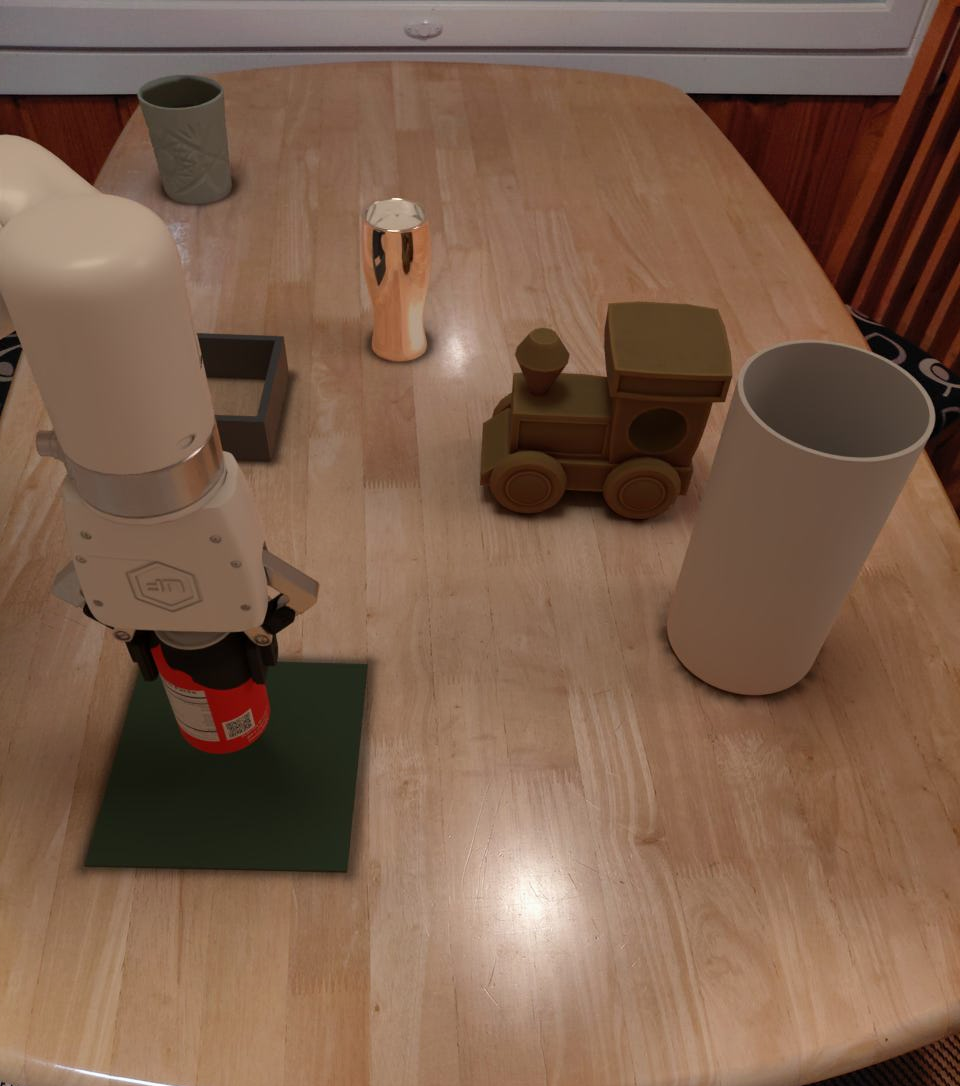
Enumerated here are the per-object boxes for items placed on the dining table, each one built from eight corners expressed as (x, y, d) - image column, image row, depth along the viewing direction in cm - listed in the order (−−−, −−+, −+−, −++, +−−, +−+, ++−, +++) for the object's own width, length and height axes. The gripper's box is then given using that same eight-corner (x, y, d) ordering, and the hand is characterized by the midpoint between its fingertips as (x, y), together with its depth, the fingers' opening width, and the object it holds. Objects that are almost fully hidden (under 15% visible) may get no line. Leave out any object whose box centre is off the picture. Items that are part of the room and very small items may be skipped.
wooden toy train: (680, 448, 97) (719, 299, 84) (693, 529, 90) (737, 380, 77) (481, 438, 96) (489, 287, 83) (478, 518, 89) (486, 367, 76)
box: (129, 458, 93) (115, 416, 89) (159, 372, 101) (148, 330, 97) (271, 463, 93) (264, 421, 89) (289, 377, 101) (283, 335, 98)
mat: (85, 867, 66) (84, 865, 66) (144, 660, 78) (143, 657, 77) (347, 873, 67) (346, 871, 67) (367, 666, 78) (367, 663, 78)
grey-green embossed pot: (160, 210, 122) (137, 110, 112) (157, 172, 128) (136, 75, 118) (241, 204, 123) (226, 105, 114) (235, 167, 129) (220, 70, 120)
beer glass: (380, 371, 103) (373, 237, 91) (358, 335, 107) (349, 202, 95) (440, 357, 105) (441, 224, 93) (417, 322, 109) (415, 191, 97)
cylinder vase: (663, 577, 86) (732, 331, 66) (804, 592, 85) (915, 349, 66) (666, 691, 78) (744, 450, 58) (821, 707, 77) (953, 470, 58)
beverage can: (287, 733, 68) (265, 626, 59) (205, 776, 66) (168, 672, 56) (247, 673, 71) (219, 562, 62) (166, 713, 69) (125, 603, 60)
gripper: (-51, 499, 47) (60, 709, 61) (307, 511, 47) (336, 716, 61) (-2, 402, 51) (91, 617, 65) (324, 413, 52) (347, 625, 66)
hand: (209, 664), depth 63 cm, fingers closed on beverage can, 6 cm apart
